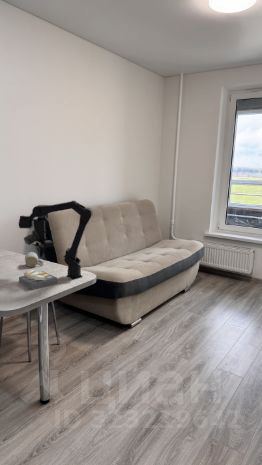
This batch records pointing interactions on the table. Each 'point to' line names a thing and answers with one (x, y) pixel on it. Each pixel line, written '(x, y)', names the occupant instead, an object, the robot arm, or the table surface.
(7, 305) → the table surface
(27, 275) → the rocker
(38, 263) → the ceramic mug
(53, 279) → the switch unit
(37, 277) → the rocker
